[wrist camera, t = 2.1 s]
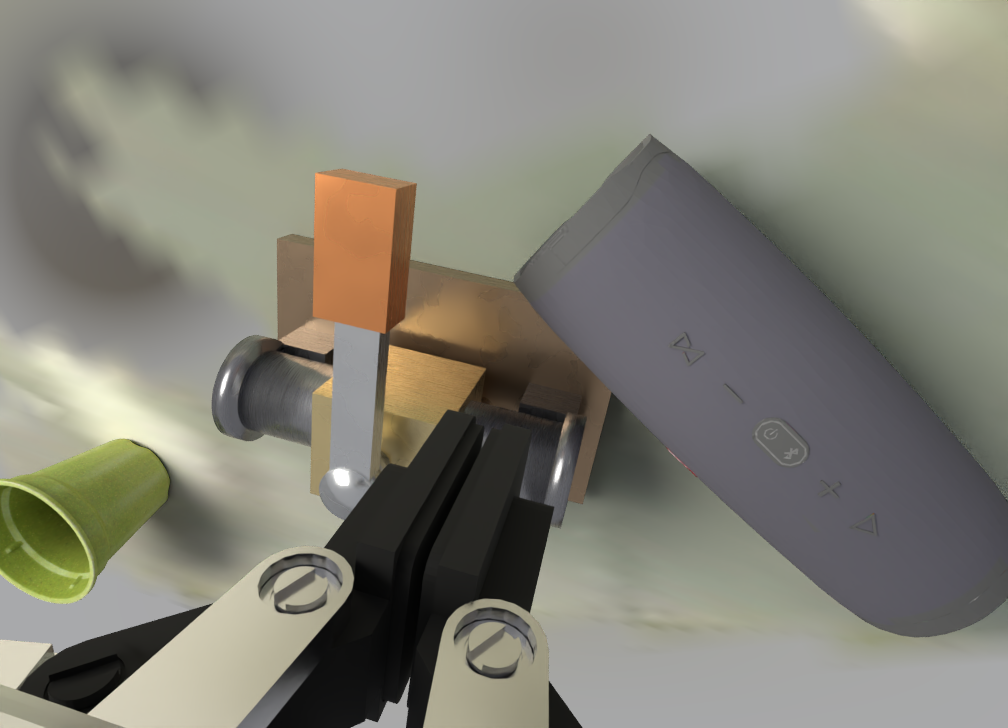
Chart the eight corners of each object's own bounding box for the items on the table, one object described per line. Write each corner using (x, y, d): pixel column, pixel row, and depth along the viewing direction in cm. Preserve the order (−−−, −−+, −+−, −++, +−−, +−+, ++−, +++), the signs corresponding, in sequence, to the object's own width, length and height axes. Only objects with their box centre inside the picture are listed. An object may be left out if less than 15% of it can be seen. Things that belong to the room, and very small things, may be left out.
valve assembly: (631, 308, 31) (623, 391, 22) (585, 489, 36) (560, 623, 27) (291, 234, 34) (151, 278, 25) (291, 411, 39) (174, 506, 30)
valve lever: (387, 512, 26) (369, 538, 24) (329, 495, 27) (308, 520, 25) (416, 183, 20) (396, 189, 19) (341, 168, 21) (315, 172, 19)
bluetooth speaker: (525, 261, 32) (477, 316, 23) (657, 123, 28) (663, 122, 19) (807, 536, 34) (866, 686, 25) (965, 444, 30) (1103, 582, 21)
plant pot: (62, 439, 45) (-61, 506, 38) (139, 400, 42) (22, 464, 34) (135, 534, 48) (34, 616, 40) (214, 504, 44) (120, 586, 36)
